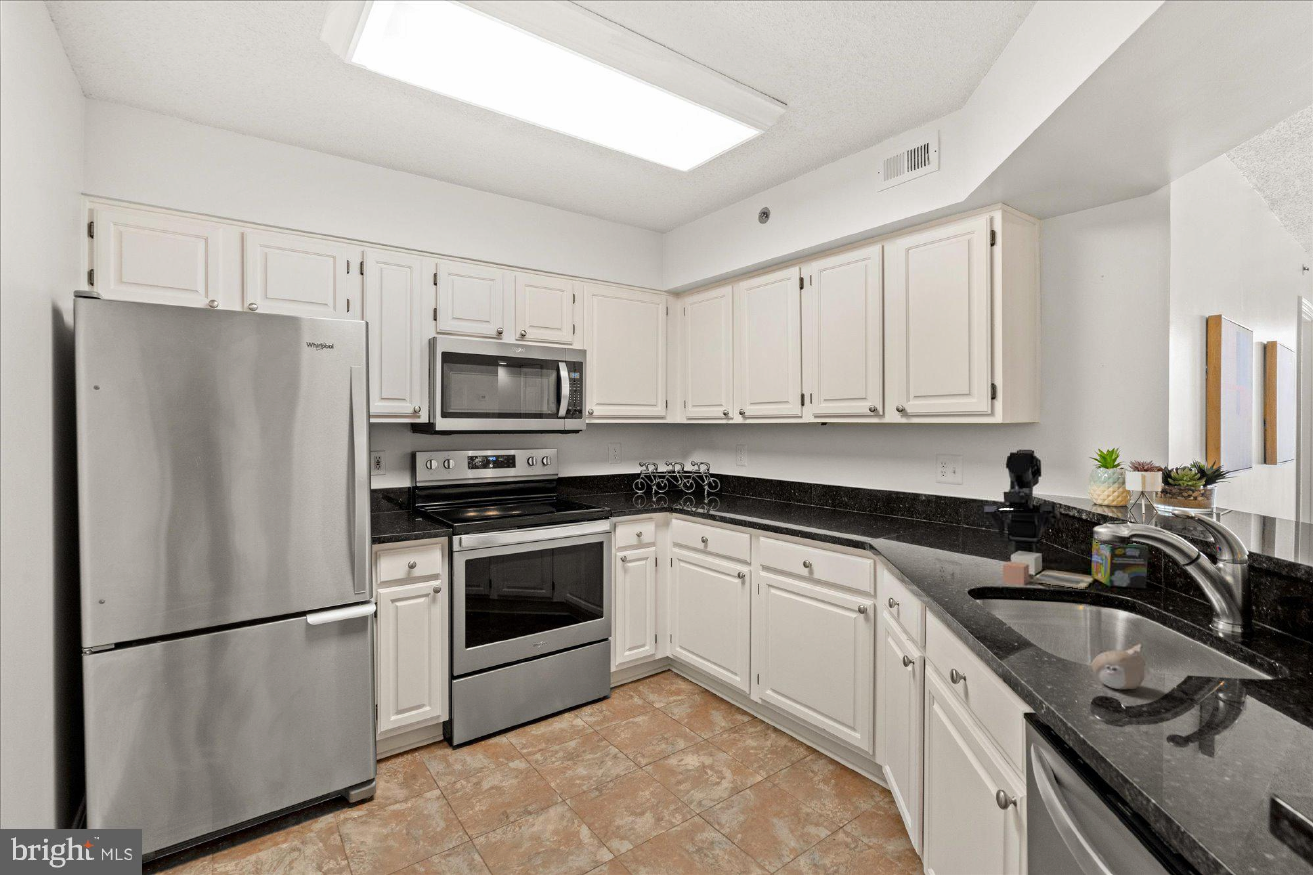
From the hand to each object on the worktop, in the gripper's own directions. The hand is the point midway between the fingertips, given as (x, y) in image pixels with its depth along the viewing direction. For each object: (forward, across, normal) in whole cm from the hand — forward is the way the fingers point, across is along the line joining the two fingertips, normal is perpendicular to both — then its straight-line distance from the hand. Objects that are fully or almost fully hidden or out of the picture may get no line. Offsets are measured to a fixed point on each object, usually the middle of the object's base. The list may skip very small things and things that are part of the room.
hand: (1019, 538), depth 173 cm
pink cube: (+14, 0, -4) cm, 15 cm away
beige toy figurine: (+48, +31, -56) cm, 80 cm away
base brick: (+6, -1, +10) cm, 12 cm away
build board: (+10, +10, +5) cm, 15 cm away
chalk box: (+8, +21, +10) cm, 25 cm away
